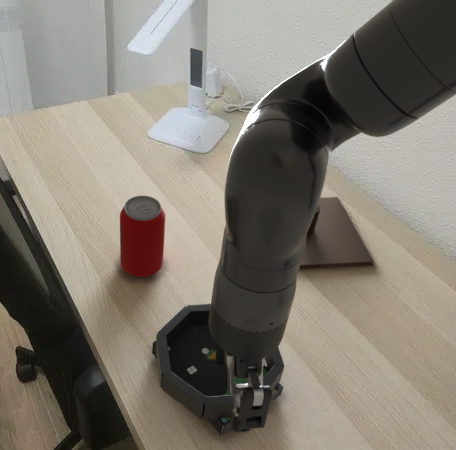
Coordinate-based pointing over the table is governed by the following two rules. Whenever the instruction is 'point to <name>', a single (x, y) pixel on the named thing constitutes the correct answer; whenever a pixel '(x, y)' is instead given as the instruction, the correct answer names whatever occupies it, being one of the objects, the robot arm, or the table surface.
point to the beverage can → (142, 236)
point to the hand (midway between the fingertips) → (231, 393)
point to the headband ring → (186, 392)
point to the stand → (333, 239)
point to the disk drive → (204, 367)
